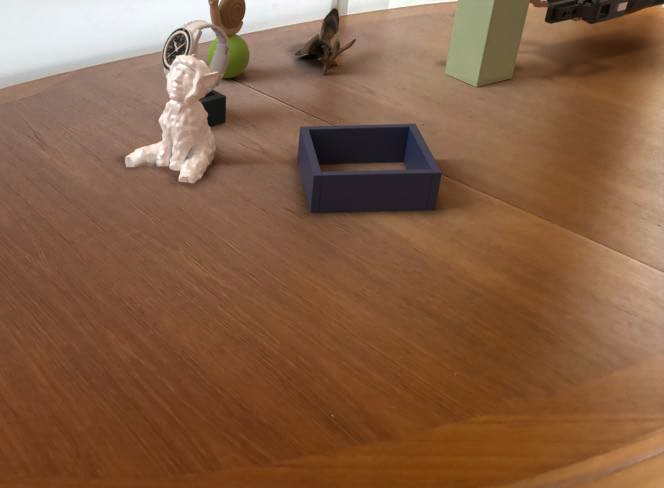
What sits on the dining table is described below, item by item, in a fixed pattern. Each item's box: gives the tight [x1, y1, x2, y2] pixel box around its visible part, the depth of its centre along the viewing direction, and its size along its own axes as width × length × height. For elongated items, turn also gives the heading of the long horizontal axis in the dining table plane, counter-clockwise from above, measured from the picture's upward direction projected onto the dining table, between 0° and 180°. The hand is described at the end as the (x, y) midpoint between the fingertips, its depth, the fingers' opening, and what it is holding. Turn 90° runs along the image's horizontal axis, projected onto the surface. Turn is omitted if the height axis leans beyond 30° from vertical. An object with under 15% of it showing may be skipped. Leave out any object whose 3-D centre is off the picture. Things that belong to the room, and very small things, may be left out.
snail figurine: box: [207, 0, 250, 79], centre depth 113 cm, size 5×6×12 cm
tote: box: [296, 123, 443, 214], centre depth 87 cm, size 12×12×5 cm
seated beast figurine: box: [124, 55, 219, 184], centre depth 91 cm, size 10×9×12 cm
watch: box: [161, 19, 230, 128], centre depth 102 cm, size 6×8×11 cm
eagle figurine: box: [294, 7, 357, 76], centre depth 117 cm, size 8×7×9 cm
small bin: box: [444, 0, 530, 88], centre depth 109 cm, size 6×6×12 cm
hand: (521, 5), depth 109 cm, fingers open, 8 cm apart
